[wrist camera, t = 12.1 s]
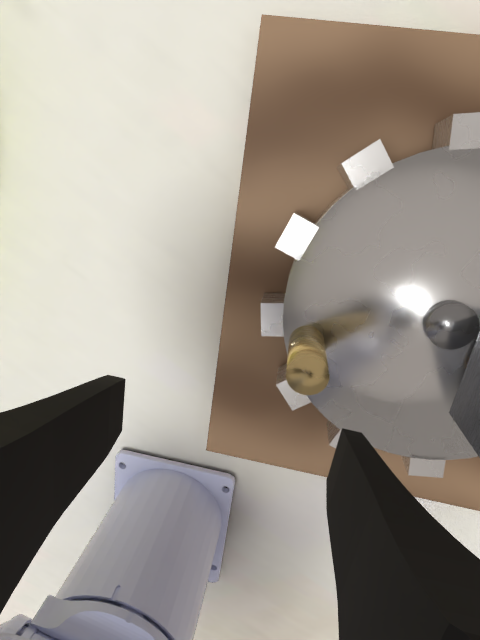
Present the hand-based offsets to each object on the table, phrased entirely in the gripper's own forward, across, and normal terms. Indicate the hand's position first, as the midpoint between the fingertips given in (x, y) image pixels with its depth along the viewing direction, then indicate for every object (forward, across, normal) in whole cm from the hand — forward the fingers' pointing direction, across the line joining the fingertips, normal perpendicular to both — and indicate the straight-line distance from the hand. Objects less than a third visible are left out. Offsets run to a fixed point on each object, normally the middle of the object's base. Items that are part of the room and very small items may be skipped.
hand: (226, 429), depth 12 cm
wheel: (+8, -8, -3) cm, 12 cm away
